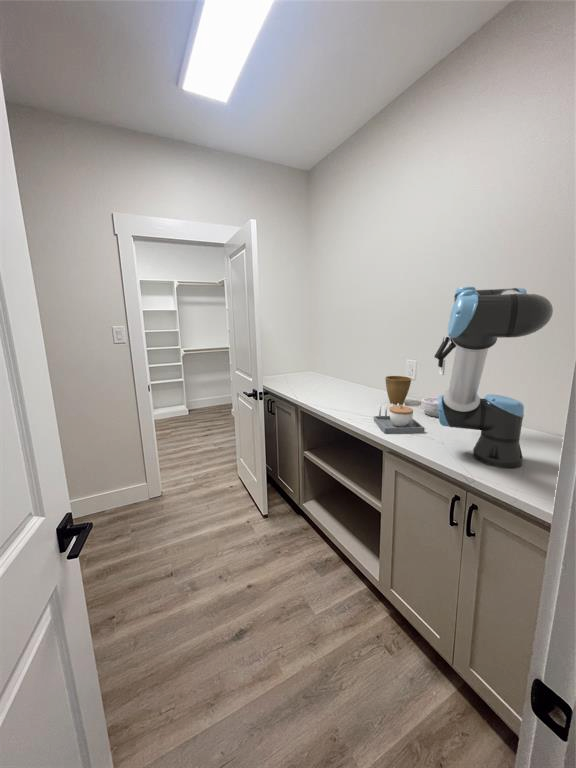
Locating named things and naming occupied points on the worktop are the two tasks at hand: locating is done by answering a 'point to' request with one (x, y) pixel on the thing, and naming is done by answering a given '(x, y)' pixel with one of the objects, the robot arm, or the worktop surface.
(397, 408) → the lidded jar
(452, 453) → the worktop surface
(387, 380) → the plant pot
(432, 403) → the paper bowls
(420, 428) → the dish rack
